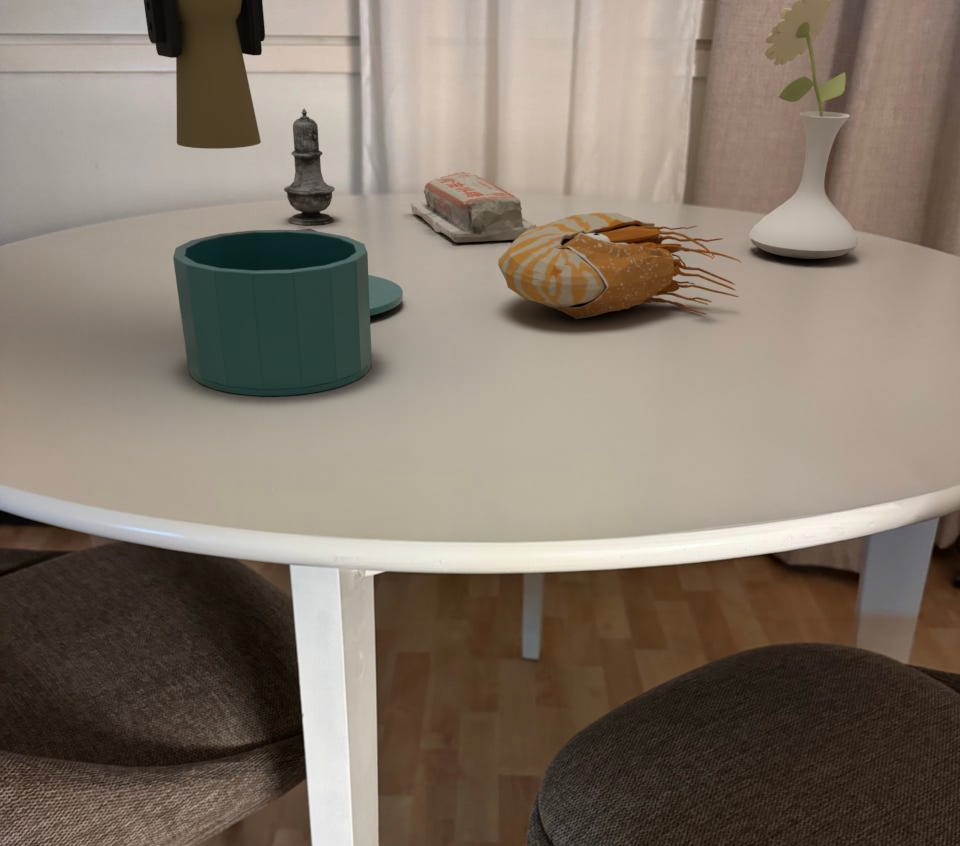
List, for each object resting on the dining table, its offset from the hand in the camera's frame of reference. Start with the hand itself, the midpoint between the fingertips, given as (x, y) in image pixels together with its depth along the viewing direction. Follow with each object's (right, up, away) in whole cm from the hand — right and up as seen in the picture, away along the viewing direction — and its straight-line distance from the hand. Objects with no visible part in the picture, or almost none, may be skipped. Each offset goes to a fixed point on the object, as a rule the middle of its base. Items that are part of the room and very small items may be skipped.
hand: (209, 52), depth 75 cm
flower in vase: (+53, 0, +40) cm, 67 cm away
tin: (+4, -21, +6) cm, 22 cm away
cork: (0, -5, +3) cm, 6 cm away
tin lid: (+5, -11, +20) cm, 24 cm away
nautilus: (+31, -12, +20) cm, 39 cm away
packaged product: (+18, +7, +50) cm, 54 cm away
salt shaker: (-1, +8, +52) cm, 52 cm away
